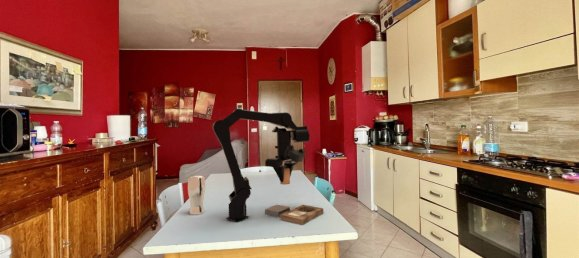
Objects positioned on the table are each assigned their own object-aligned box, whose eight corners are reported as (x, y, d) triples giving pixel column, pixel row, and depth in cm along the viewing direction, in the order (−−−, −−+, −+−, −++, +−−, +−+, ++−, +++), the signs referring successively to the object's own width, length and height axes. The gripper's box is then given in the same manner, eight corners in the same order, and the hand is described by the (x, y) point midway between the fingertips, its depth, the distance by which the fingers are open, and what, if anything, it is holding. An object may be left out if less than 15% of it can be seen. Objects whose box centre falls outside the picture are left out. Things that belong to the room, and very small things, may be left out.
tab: (278, 217, 110) (278, 212, 110) (264, 214, 114) (264, 209, 114) (290, 211, 116) (290, 207, 116) (276, 209, 120) (276, 204, 120)
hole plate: (302, 225, 101) (302, 218, 101) (280, 219, 107) (280, 213, 107) (323, 213, 114) (323, 207, 114) (302, 209, 120) (302, 203, 120)
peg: (286, 184, 112) (285, 170, 111) (278, 183, 114) (277, 169, 114) (291, 183, 115) (291, 168, 115) (284, 182, 117) (283, 167, 117)
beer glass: (196, 216, 112) (195, 179, 112) (184, 213, 116) (183, 177, 116) (209, 211, 118) (208, 176, 118) (197, 209, 122) (196, 174, 122)
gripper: (287, 145, 102) (288, 187, 102) (312, 141, 117) (313, 178, 117) (263, 144, 108) (264, 184, 108) (290, 141, 123) (291, 176, 124)
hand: (285, 181), depth 114 cm, fingers closed on peg, 4 cm apart
